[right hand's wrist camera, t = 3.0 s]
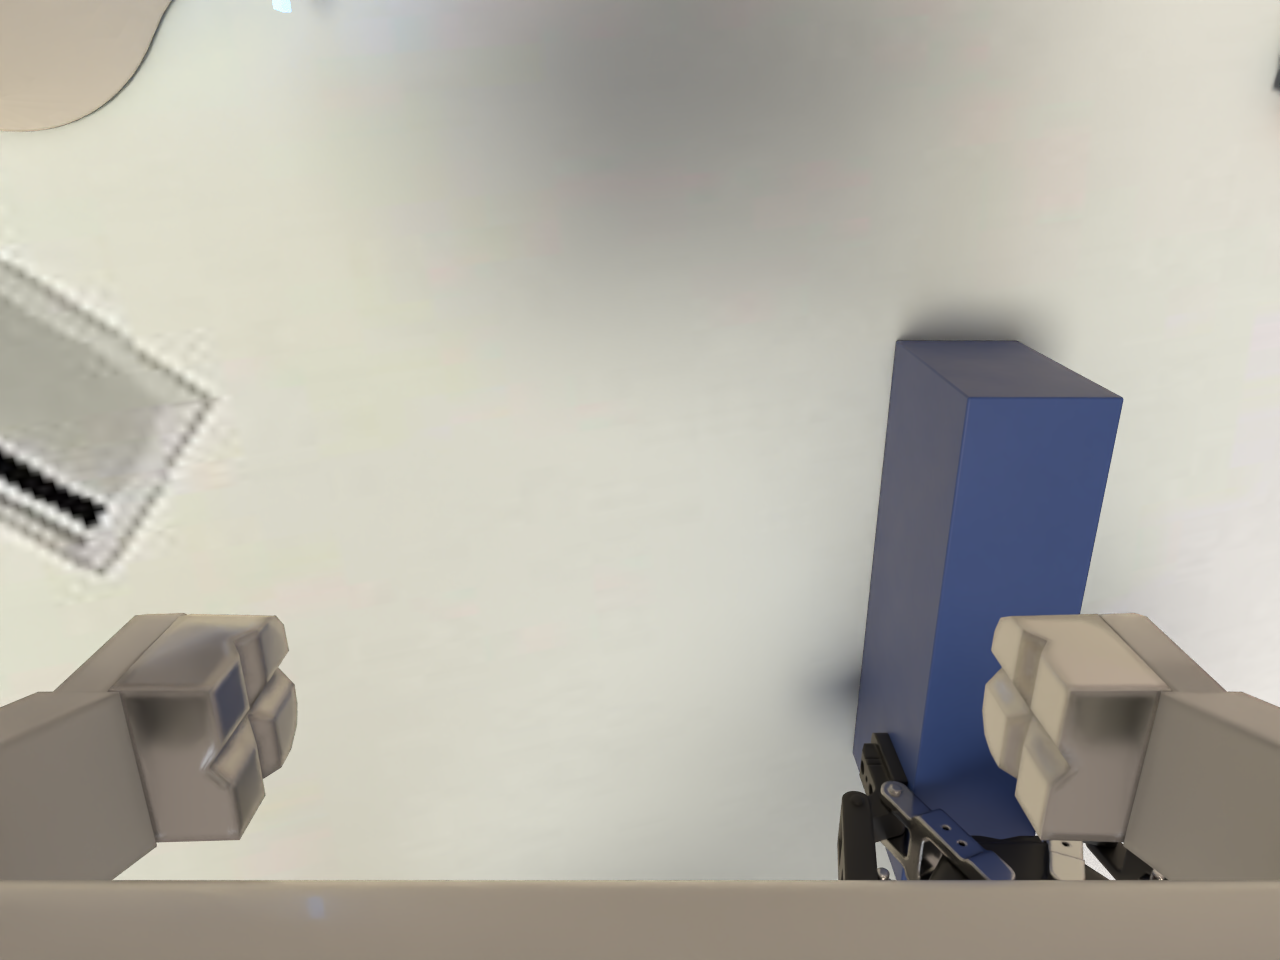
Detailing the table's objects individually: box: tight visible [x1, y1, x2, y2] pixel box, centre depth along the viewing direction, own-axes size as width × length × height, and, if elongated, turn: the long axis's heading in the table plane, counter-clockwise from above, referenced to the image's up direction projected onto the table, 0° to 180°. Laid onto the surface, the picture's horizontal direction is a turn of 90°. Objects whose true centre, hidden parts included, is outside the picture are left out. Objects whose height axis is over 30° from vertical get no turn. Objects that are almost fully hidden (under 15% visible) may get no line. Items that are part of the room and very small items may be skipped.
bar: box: [853, 341, 1123, 880], centre depth 40 cm, size 23×6×10 cm, turn 0°
